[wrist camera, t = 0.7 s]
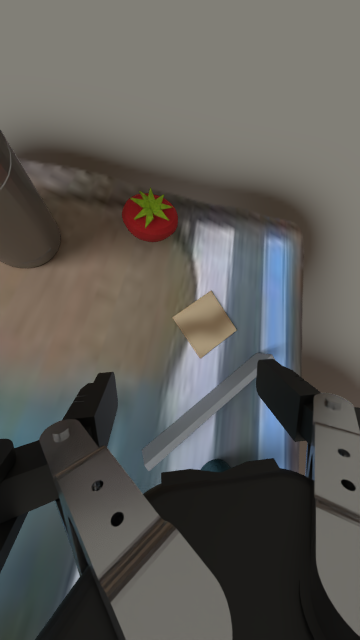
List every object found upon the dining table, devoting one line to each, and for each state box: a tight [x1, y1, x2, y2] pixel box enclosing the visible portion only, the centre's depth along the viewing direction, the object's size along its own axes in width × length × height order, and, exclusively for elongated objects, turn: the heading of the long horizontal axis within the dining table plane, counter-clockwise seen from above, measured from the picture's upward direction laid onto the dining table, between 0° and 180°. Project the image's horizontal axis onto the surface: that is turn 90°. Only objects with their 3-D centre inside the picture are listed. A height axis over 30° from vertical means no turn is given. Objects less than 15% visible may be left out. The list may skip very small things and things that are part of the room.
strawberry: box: [122, 188, 178, 242], centre depth 30 cm, size 6×8×10 cm
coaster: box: [172, 291, 236, 358], centre depth 36 cm, size 8×8×1 cm
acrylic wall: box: [142, 353, 275, 471], centre depth 33 cm, size 1×24×4 cm, turn 125°
